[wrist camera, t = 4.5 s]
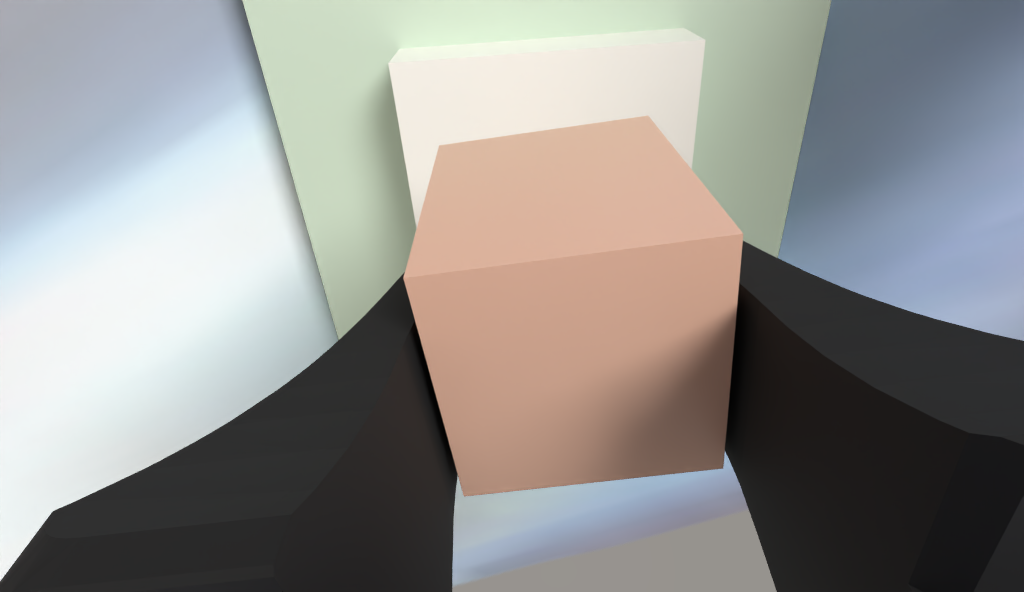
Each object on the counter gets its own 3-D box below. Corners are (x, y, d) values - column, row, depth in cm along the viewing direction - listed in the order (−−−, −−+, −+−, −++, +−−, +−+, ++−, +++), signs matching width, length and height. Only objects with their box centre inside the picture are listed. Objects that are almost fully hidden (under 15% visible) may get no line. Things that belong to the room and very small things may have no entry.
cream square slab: (683, 27, 16) (705, 39, 15) (662, 273, 21) (677, 305, 19) (399, 48, 16) (387, 63, 15) (437, 288, 21) (432, 321, 19)
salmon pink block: (648, 115, 11) (743, 233, 7) (650, 293, 13) (723, 468, 9) (439, 145, 11) (403, 278, 7) (474, 315, 13) (463, 496, 9)
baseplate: (844, -160, 15) (866, -165, 14) (747, 339, 23) (757, 354, 23) (226, -112, 15) (210, -113, 14) (355, 364, 24) (350, 381, 23)
